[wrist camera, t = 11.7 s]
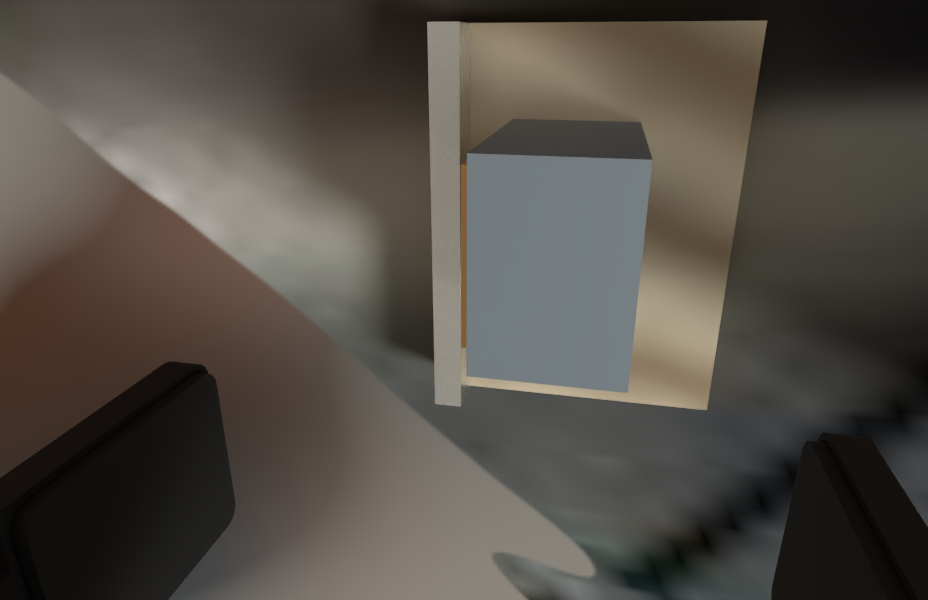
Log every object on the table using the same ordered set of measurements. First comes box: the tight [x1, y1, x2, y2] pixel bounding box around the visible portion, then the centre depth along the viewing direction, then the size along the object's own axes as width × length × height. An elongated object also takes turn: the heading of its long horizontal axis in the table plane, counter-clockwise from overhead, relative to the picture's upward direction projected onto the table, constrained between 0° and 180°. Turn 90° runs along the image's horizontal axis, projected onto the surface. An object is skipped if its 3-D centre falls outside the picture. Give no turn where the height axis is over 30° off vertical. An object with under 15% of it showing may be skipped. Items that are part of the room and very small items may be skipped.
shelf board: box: [427, 21, 767, 410], centre depth 27 cm, size 16×12×4 cm
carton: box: [461, 119, 653, 393], centre depth 23 cm, size 5×7×9 cm
